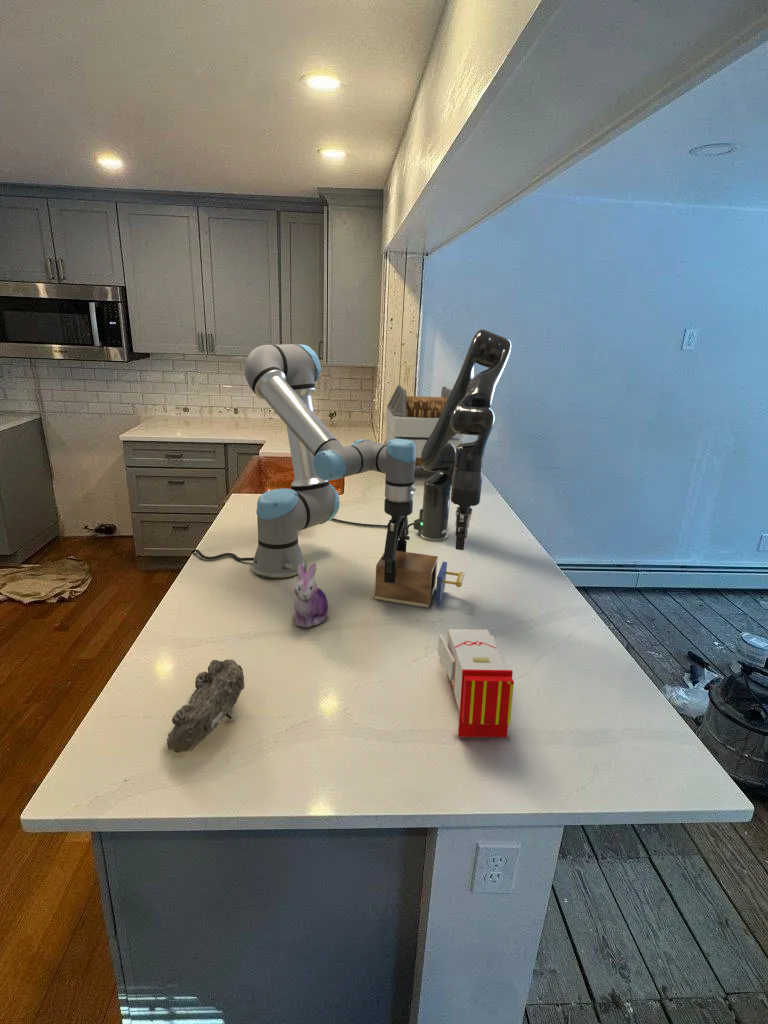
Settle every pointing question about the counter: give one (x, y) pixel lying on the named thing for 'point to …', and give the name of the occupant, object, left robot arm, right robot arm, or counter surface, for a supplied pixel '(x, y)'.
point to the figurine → (309, 599)
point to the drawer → (443, 581)
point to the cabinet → (407, 579)
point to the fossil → (206, 705)
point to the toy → (478, 682)
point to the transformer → (415, 418)
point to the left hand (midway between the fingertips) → (395, 571)
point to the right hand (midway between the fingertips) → (461, 543)
